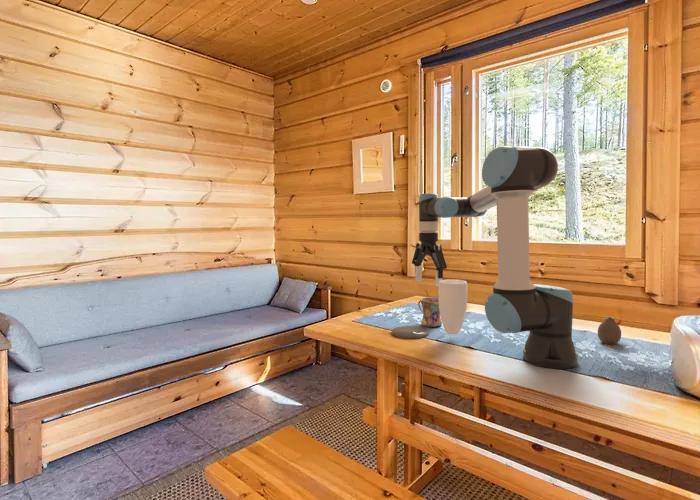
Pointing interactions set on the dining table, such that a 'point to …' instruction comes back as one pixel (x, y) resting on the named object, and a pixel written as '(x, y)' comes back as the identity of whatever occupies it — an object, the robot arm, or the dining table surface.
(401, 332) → the disc
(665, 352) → the dining table surface
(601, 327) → the vase
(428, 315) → the mug
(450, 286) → the cup
